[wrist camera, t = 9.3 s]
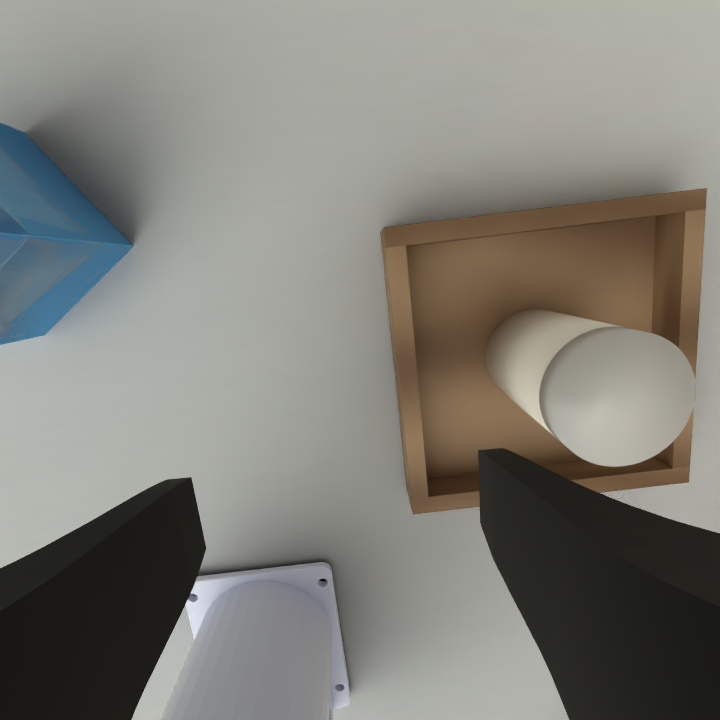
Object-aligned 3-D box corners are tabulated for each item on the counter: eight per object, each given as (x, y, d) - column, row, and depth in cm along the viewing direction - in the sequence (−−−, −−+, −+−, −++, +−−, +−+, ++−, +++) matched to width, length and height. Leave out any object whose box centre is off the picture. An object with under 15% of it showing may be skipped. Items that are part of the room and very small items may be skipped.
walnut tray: (655, 460, 22) (688, 482, 19) (407, 489, 22) (413, 514, 20) (666, 197, 19) (706, 188, 17) (380, 232, 19) (384, 227, 17)
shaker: (579, 393, 20) (692, 458, 13) (488, 404, 20) (554, 474, 13) (577, 303, 19) (698, 321, 12) (482, 315, 19) (550, 340, 12)
